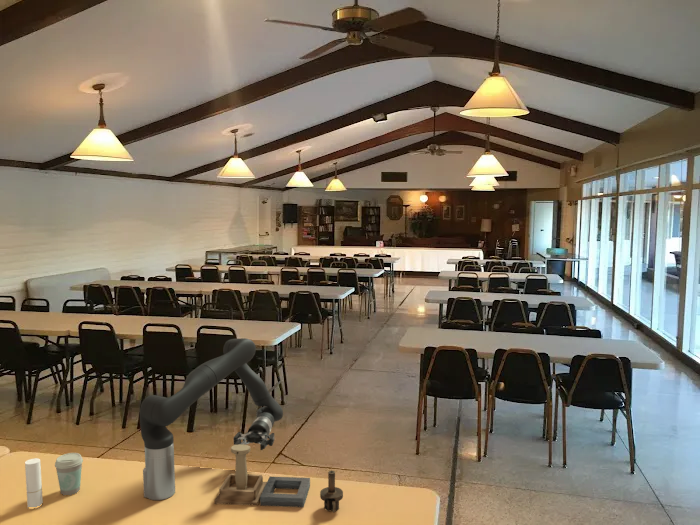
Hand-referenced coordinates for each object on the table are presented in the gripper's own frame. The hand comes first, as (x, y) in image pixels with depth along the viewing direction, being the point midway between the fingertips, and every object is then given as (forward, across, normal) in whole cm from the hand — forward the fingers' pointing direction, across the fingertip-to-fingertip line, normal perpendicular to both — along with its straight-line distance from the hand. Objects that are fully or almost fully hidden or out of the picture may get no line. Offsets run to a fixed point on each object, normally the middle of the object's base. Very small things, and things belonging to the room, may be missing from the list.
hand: (249, 447), depth 205 cm
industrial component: (+17, +31, +12) cm, 37 cm away
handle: (+11, 0, +11) cm, 15 cm away
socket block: (+11, +15, +12) cm, 22 cm away
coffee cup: (+14, -58, +12) cm, 61 cm away
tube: (+24, -64, +12) cm, 69 cm away
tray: (+11, 0, +12) cm, 16 cm away
